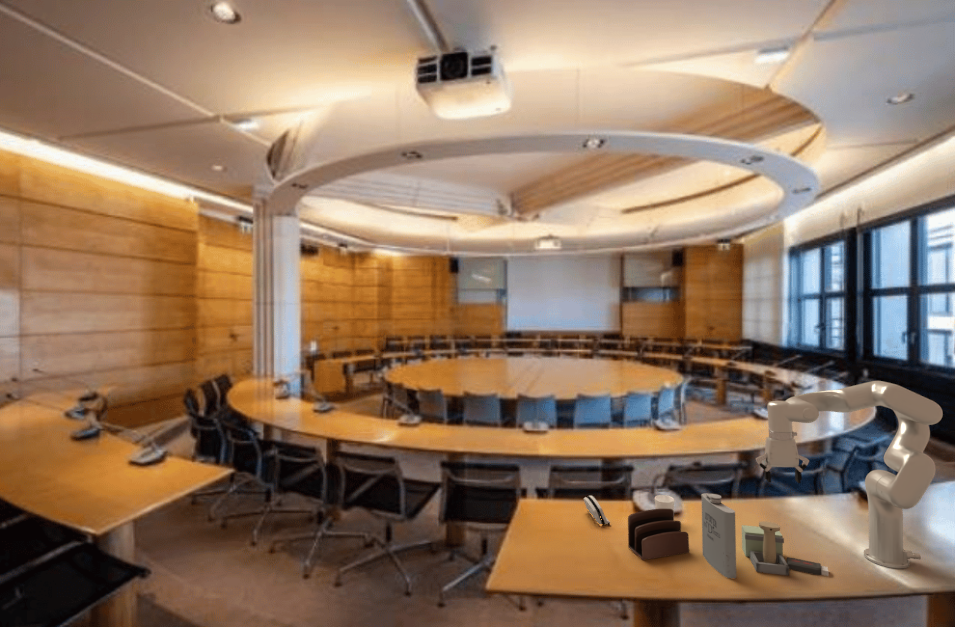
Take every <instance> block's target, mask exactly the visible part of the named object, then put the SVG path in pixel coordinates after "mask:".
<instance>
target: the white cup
mask: <svg viewBox="0 0 955 627" xmlns="http://www.w3.org/2000/svg"><path fill="white" fill-rule="evenodd" d="M654 509H672V510H673V511H674V512H675V498H673V497H672V496H670V495H666V494H663V495H662V494H658V495H655V497H654Z"/></svg>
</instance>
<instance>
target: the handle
mask: <svg viewBox="0 0 955 627" xmlns="http://www.w3.org/2000/svg"><path fill="white" fill-rule="evenodd" d="M758 527H760V528H761V529H763V530H764V542H763V558H764V562H763V563H772V564H776V563H775V562H776V544H775V532H777V531H780V532H781V526H780V524H778V523H776V522H772V521H767V520H766V521H763V520H761V521H759V522H758Z"/></svg>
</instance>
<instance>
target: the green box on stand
mask: <svg viewBox="0 0 955 627" xmlns="http://www.w3.org/2000/svg"><path fill="white" fill-rule="evenodd" d="M783 536H784V535H783V534H782V533H781V530H780V531H777V532H775V544H776V562H775V564H772V563H764V558H763V542H764V530H763V529H761V528H760V527H759V526H755V525H745V524H742V525H741V549H742V552H743V554H744V556H745V557H747V558H749V560H750V561H751V565H752V566H753V567H754V570H755V572H757V573H762V572H763V573H764V574H772V575H781V576H790V569H789V566H788V564H787V560H786V559H785V558H784V548H783V546H784V545H783V544H784V543H785V538H784V537H783Z"/></svg>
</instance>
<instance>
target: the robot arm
mask: <svg viewBox="0 0 955 627" xmlns="http://www.w3.org/2000/svg"><path fill="white" fill-rule="evenodd" d="M879 406H881V407H884V408H888V409H891V410H892V411H893V412H894V414H895V416H896V419H897V421H898V429H897V431H896V433H895V436H894V437H893V439H892V441H890V444H889V446H888V448H887V449H886V451H885V453H884V456H883V461H884V464H886V466H887V467H889V469H891V470H893V471H895V472H897V474H894V473H893V472H890V471H887V470H884V469H873V470H871V471H870V472H869V473H867V475H866V477H865V478H864V479H865V480H864V486H865V492H866V495H867V504H868V505H867V506H868V548H865V549H864V550H863V556H864V557H865V558H866V559H867V560H868V559H869V561H870V562H872V563H874V564H876V563H877V565H880V566H883V567H887V568H891V569H907V568H909V567H910V560H911V559H912V560H921V559H922V557H921V554H920V553H917V552H912V551H913V550H907V549H904V512H903V511H904V510H909V509H912V508H914V507H915V506H917V505H918V504H919V502H920V501H921V499H923V496H924V495H925V493H926V492H927V489H928V488H929V487H930V485H931V484H932V482H933V479H934V477H935V475H936V463H935V462H934V460H933V459H932V458H931V457H930V456H929V455H928V454H926V453H924V451H925V449H926V447H927V445H928V443H929V441H930V437H931V430H930V425H931V426H933V425H935V424H938V423H939V422H940V421H941V420H942V418H943V415H944V414H943V409H942V407H941V406H940V405H939V404H938V403H937V402H935V401H934V400H932V399H929V398H928V397H925V396H922V395H921V394H919V393H917V392H914V391H912V390H909V389H907V388H905V387H903V386H901V385H899V384H895V383H891V382H887V381H881V380H872V381H868V382H863V383H859V384H856V385H855V384H854V385H852V386H847V387H844V388H843V387H842V388H838V389H829V390H828V389H827V390H822V391H814V392H813V391H812V392H807V393H803V394H798V395H796V396H795V395H794V396H791V397H789V398H787V399H786V400H772V401H768V403H767V407H766V408H767V424H768V437H766V439H765V446H764V453H763V454H762V455H759V456H758V457H755V461H756V463H757V464H758V465H759V467H760V468H762V469H763V471H764V479H765V480H766V481H767V482H768V483H772V477H771V476H772V474H771V471H770V470H771V469H772V468H795V469H794V478H795V479H794V480H795V482H797V483H798V484H801V481H802V480H803V479H802V478H803V476H802V473H803V472H804V470H806V468H808V467H807V466H808V465H809V463H810V460H809V459H808V458H807V457H805V456H802V455H800V454H799V452H798V451H799V450H798V446H797V443H796V439H795V438H794V437H797V436H798V433H797V431H796V432H795V431H793V423H802V424H810V423H814V422H815V421H817V420H818V418H819V416H820V412H832V413H834V412H835V413H852V412H856V411H860V410H866V409H870V408H874V407H879ZM800 460H801V461H802V463H801V464H800ZM762 461H765V464H763V462H762Z"/></svg>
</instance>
